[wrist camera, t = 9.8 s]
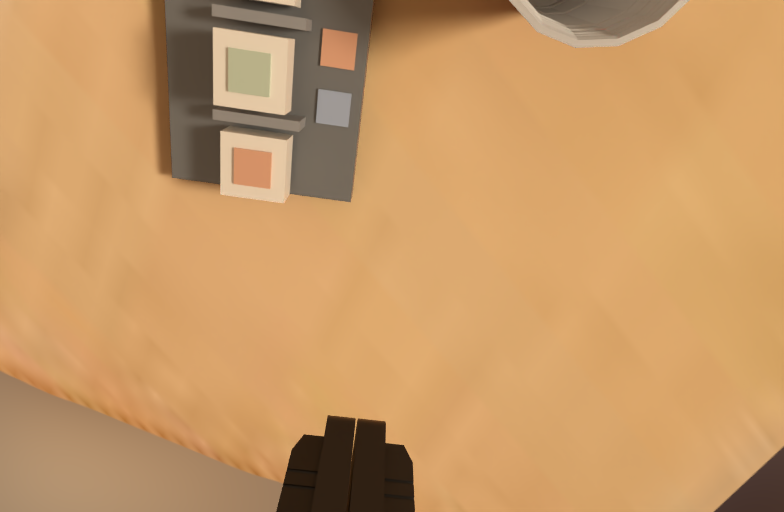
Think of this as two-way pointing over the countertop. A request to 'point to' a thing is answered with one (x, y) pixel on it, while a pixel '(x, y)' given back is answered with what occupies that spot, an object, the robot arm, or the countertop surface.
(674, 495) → the countertop surface
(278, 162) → the key
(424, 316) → the countertop surface
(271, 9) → the keypad board
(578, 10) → the plastic cup
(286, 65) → the key
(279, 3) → the key
